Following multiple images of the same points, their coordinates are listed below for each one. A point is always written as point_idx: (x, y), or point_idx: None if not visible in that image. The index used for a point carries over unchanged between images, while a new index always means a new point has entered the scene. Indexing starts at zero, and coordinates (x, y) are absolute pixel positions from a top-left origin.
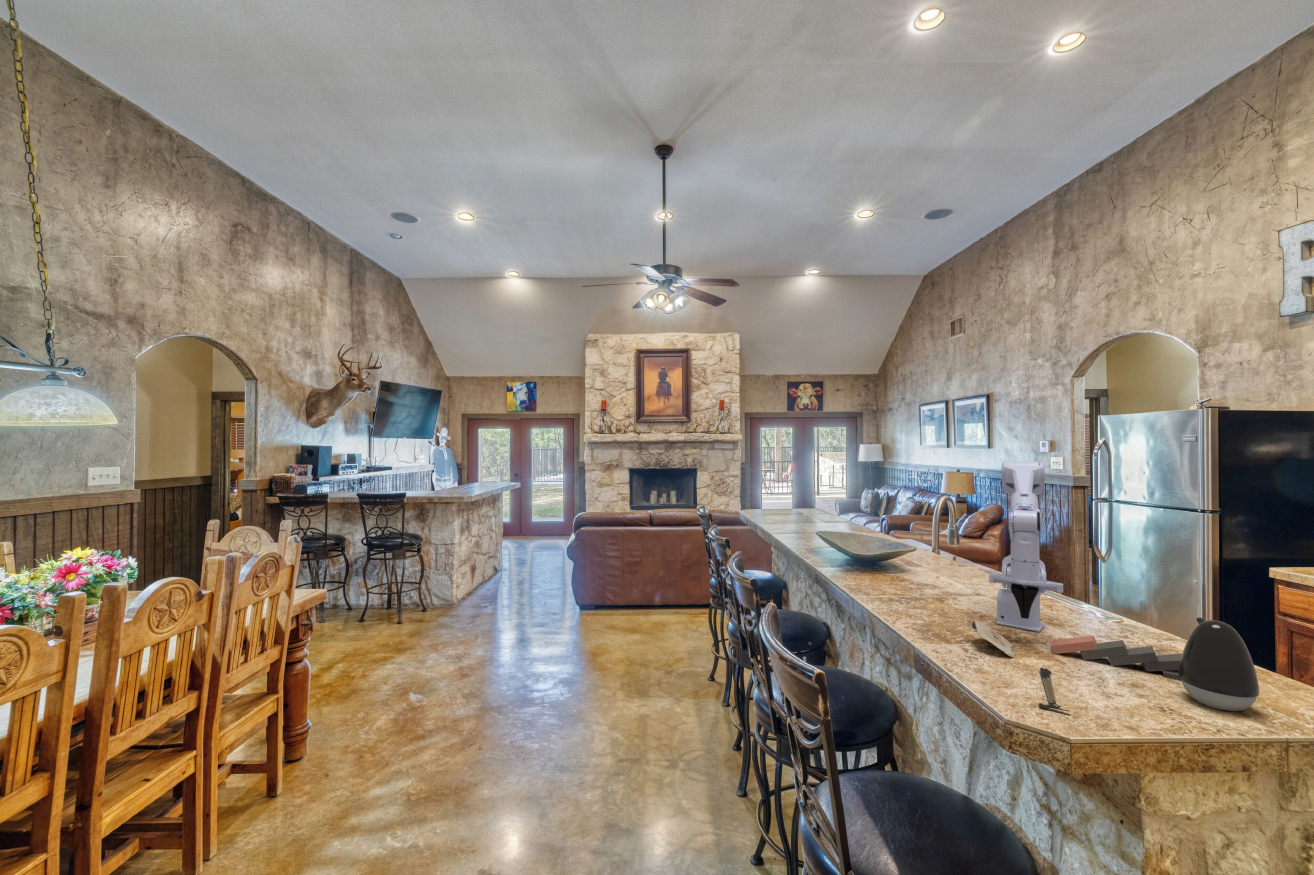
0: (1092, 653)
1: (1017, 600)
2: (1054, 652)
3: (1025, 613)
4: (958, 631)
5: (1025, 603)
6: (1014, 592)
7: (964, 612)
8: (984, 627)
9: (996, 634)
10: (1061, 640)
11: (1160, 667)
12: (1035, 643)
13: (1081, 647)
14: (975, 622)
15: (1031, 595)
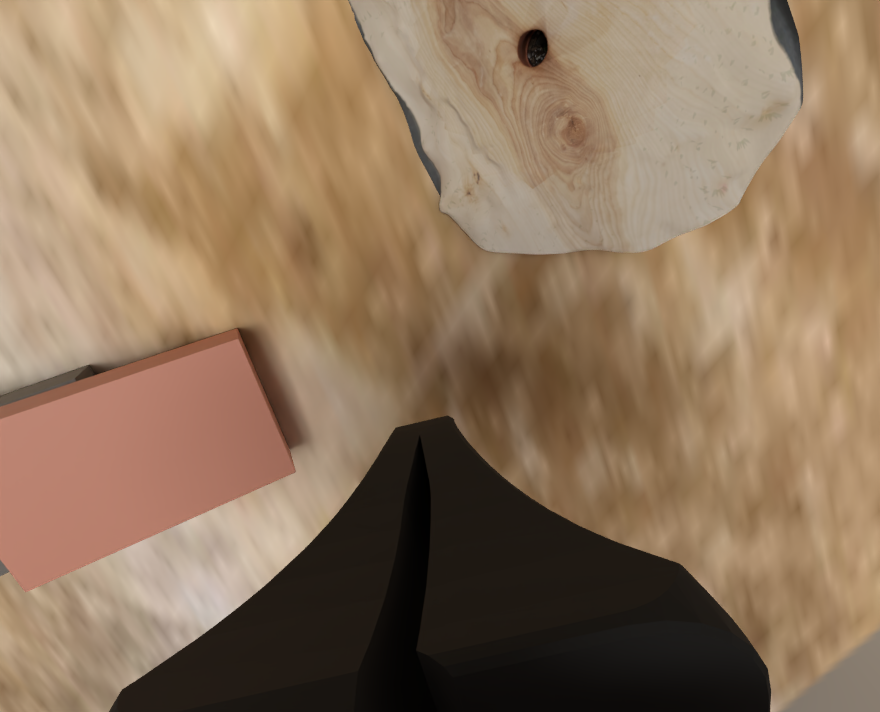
0: (5, 401)
1: (510, 500)
2: (231, 330)
3: (404, 439)
4: (810, 247)
5: (394, 511)
6: (602, 571)
7: (843, 630)
8: (670, 98)
9: (562, 180)
10: (226, 466)
11: None
12: None
13: (41, 395)
14: (777, 52)
15: (227, 651)
